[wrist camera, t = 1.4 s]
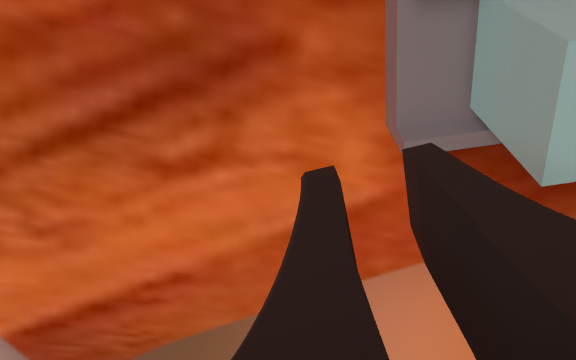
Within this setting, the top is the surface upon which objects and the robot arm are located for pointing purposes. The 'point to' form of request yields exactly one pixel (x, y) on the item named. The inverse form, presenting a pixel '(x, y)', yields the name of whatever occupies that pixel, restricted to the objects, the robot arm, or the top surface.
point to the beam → (432, 74)
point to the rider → (529, 83)
